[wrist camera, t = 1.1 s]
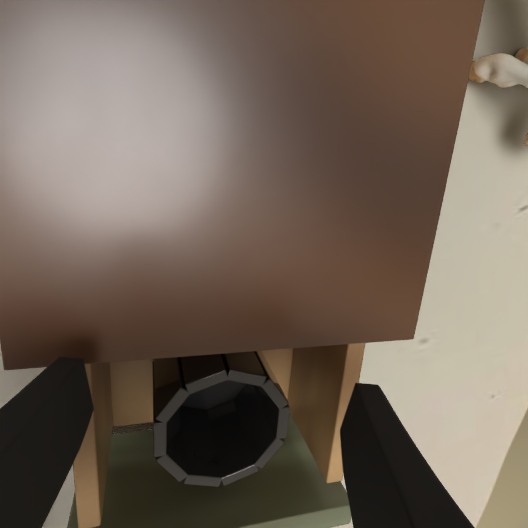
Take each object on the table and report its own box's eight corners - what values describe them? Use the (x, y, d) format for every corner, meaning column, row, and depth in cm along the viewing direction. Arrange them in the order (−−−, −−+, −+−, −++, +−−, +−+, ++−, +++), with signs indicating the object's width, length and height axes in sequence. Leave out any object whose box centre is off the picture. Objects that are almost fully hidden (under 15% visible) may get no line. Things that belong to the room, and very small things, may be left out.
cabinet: (321, 268, 23) (413, 339, 15) (63, 272, 19) (3, 371, 11) (358, -24, 18) (516, -144, 10) (34, -97, 14) (-100, -373, 7)
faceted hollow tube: (269, 386, 22) (302, 453, 17) (170, 425, 21) (176, 507, 16) (246, 301, 20) (275, 351, 15) (134, 339, 19) (130, 405, 14)
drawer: (293, 479, 26) (338, 588, 20) (91, 515, 22) (69, 661, 16) (325, 215, 21) (401, 249, 14) (69, 208, 17) (24, 249, 11)
